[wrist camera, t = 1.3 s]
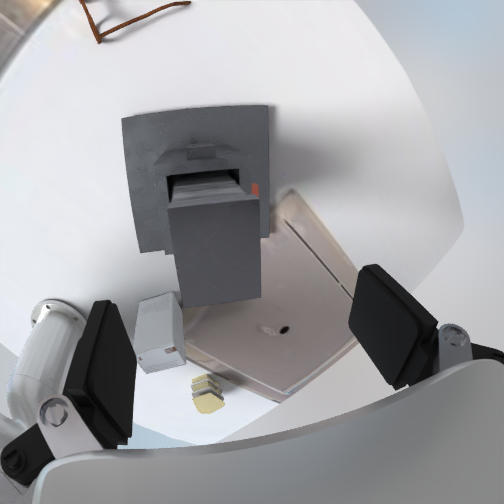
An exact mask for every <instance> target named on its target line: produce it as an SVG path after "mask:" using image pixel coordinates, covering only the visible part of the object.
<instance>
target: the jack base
mask: <svg viewBox="0 0 504 504" xmlns="http://www.w3.org/2000/svg"><path fill="white" fill-rule="evenodd" d="M121 120H122V133H123V144H124V154H125V163H126V171H127V179H128V186H129V193H130V200H131V206H132V212H133V218H134V223H135V229H136V234H137V239H138V244H139V249H140V253H145V252H153V251H161V250H165V255H169V254H174V252H173V245H172V239H171V232H170V226H169V218H168V211H167V207H168V203H171V200H172V199H173V192H174V186H175V182H176V177H177V174H184V173H193V172H203V171H213V170H225V171H226V172H227V173H228V174H229V175H230V177H231V178H232V179H233V180H235V182H236V184H237V185H239V186H240V188H241V190H242V191H244V192H245V193H246V195H248V194H256V195H257V197H258V198H259V199H260V238H268V237H269V135H268V105H251V106H221V107H205V108H193V109H182V110H173V111H165V112H158V113H151V114H144V115H138V116H132V117H127V118H121Z"/></svg>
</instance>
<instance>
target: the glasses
mask: <svg viewBox="0 0 504 504" xmlns="http://www.w3.org/2000/svg"><path fill="white" fill-rule="evenodd" d="M79 2H80V4H82V6H83V8H84V10H85V13H86V15H87V18H88V21H89V24H90V27H91V29H92V32H93V34H94V36H95V38H96V41H97V43H98V44H100V43H101V39H100V38H102V37H104V36H106V35H108V34H110V33H112V32H114V31H116V30H119V29H121V28H123V27H125V26H127V25H130V24H132V23H134V22H137V21H139V20H142V19H144V18H147V17H149V16H151V15H152V14H154V13H156V12H158V11H161V10H163V9H166V8H168V7H171V6H179V5H186V4H189V3H191V1H183V2H173V3H170V4H167V5H164V6H161V7H159V8H157V9H155V10H152V11H150V12H148V13H146V14H144V15H141V16H139V17H136V18H134V19H132V20H129V21H127V22H125V23H122V24H120V25H118V26H116V27H114V28H112V29H110V30H108V31H106V32H104V33H102V34H100V35H99V34H98V31H97V29H96V26H95V24H94V21H93V19H92V17H91V15H90V14H89V12H88V9H87V7H86V5H85V2H84V0H79Z"/></svg>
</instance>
